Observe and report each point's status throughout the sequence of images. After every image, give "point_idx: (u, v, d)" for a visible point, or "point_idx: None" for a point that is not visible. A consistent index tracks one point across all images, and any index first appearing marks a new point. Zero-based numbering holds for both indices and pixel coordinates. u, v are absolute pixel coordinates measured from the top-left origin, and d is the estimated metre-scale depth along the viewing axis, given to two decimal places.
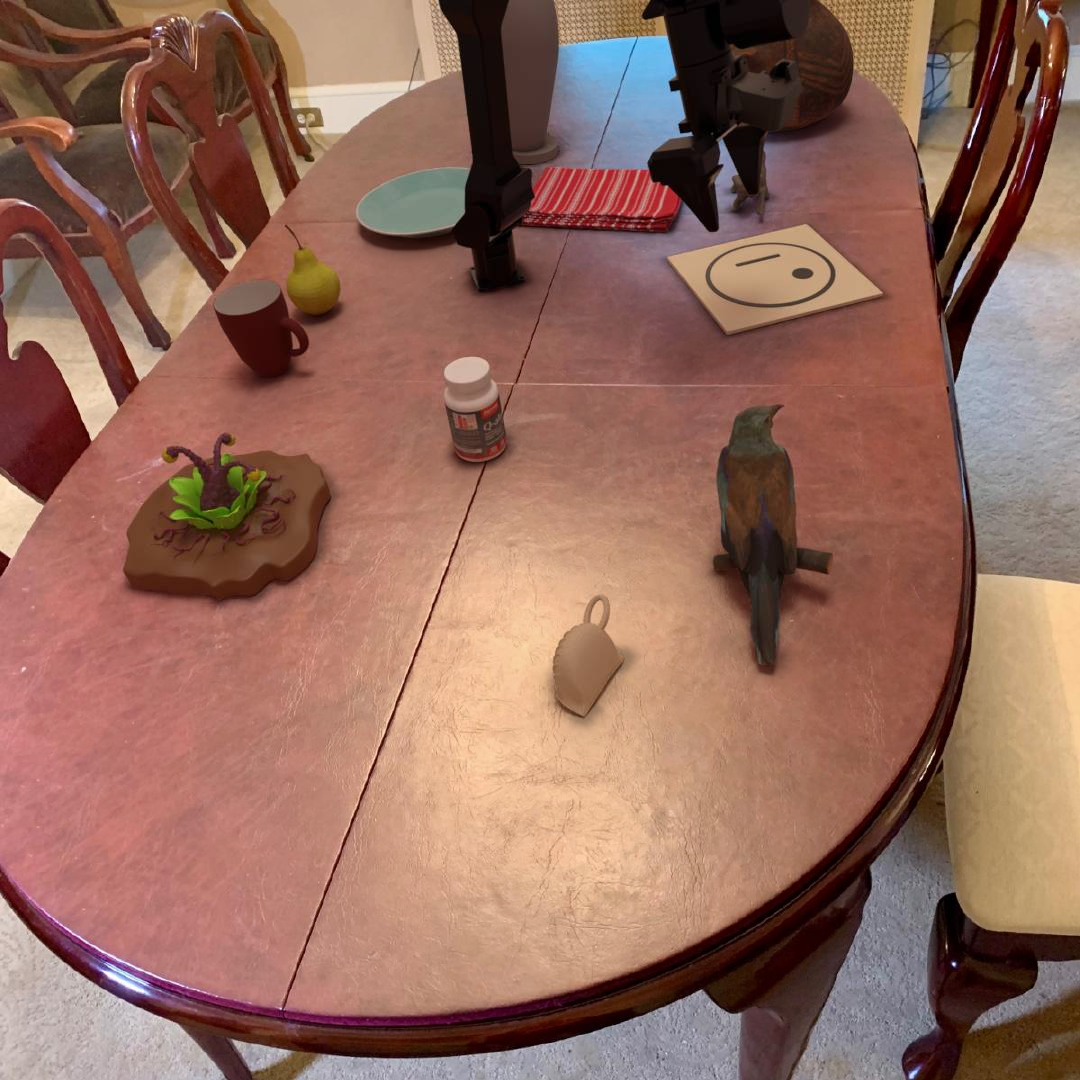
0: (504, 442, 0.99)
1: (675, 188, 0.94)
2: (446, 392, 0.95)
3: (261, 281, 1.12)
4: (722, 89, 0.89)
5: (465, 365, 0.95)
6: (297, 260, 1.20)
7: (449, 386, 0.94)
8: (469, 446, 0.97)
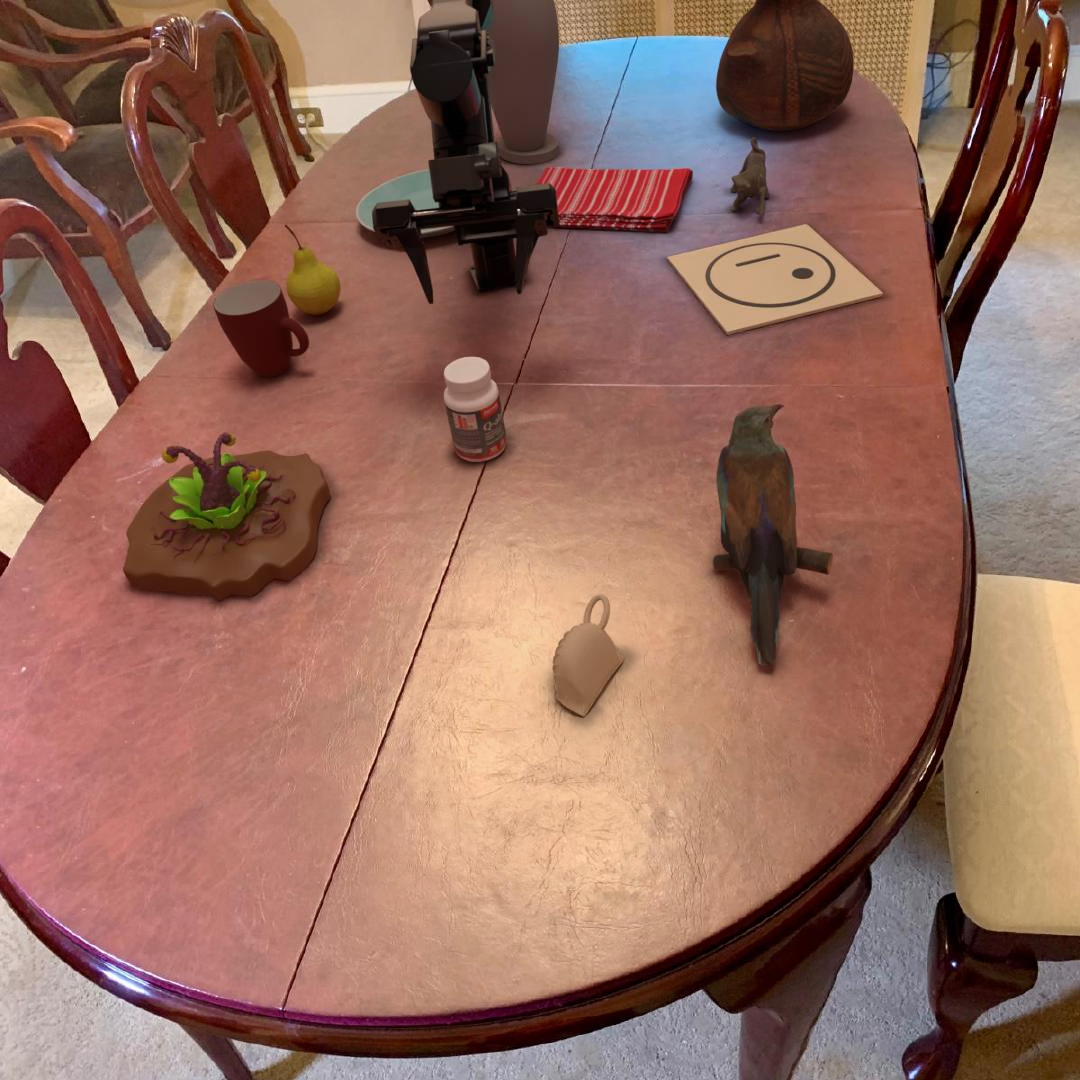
0: (504, 442, 0.99)
1: None
2: (446, 392, 0.95)
3: (261, 281, 1.12)
4: None
5: (465, 365, 0.95)
6: (297, 260, 1.20)
7: (449, 386, 0.94)
8: (469, 446, 0.97)
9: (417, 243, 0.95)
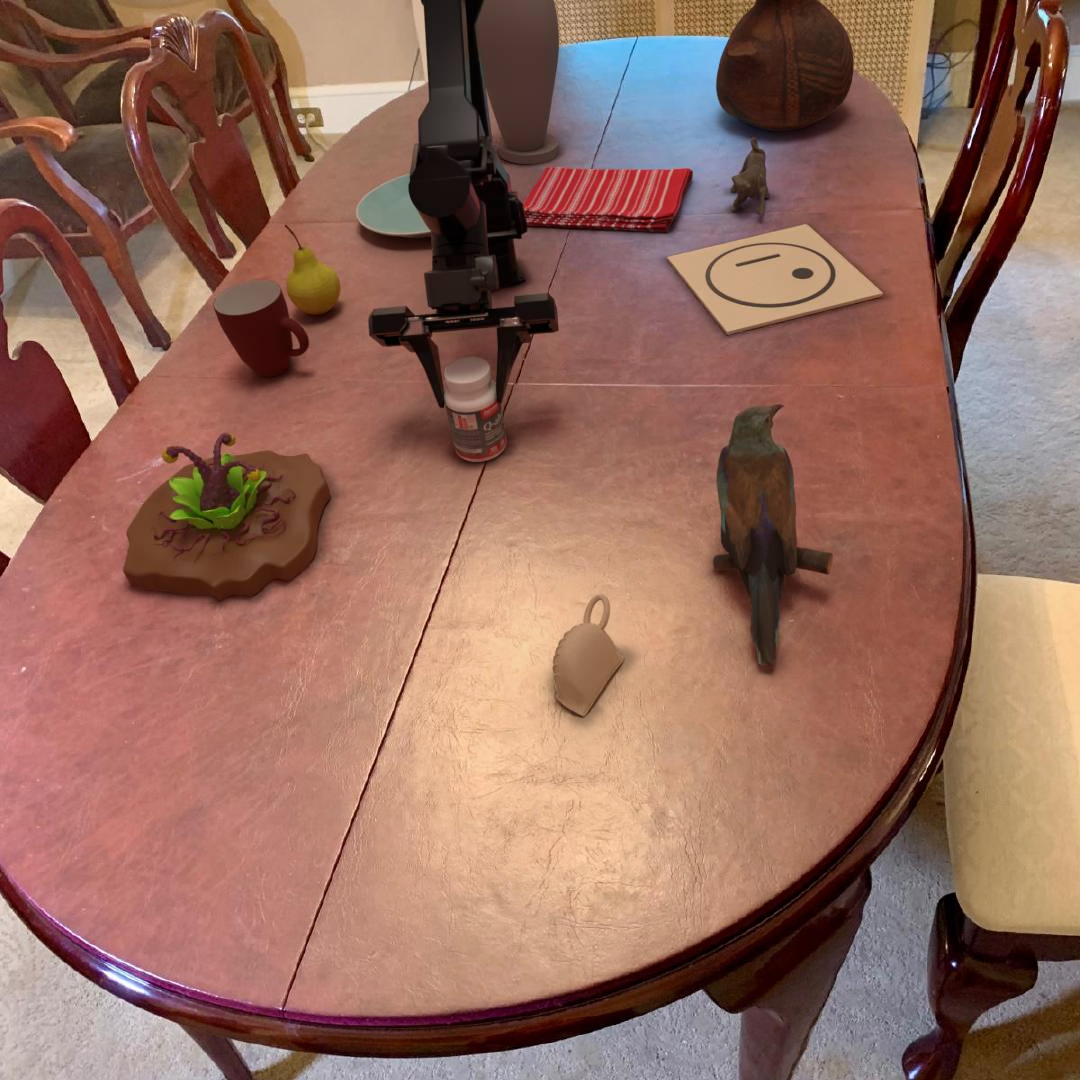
0: (504, 442, 0.99)
1: None
2: (446, 392, 0.95)
3: (261, 281, 1.12)
4: None
5: (465, 365, 0.94)
6: (297, 260, 1.20)
7: (449, 386, 0.94)
8: (469, 446, 0.97)
9: (429, 348, 0.94)
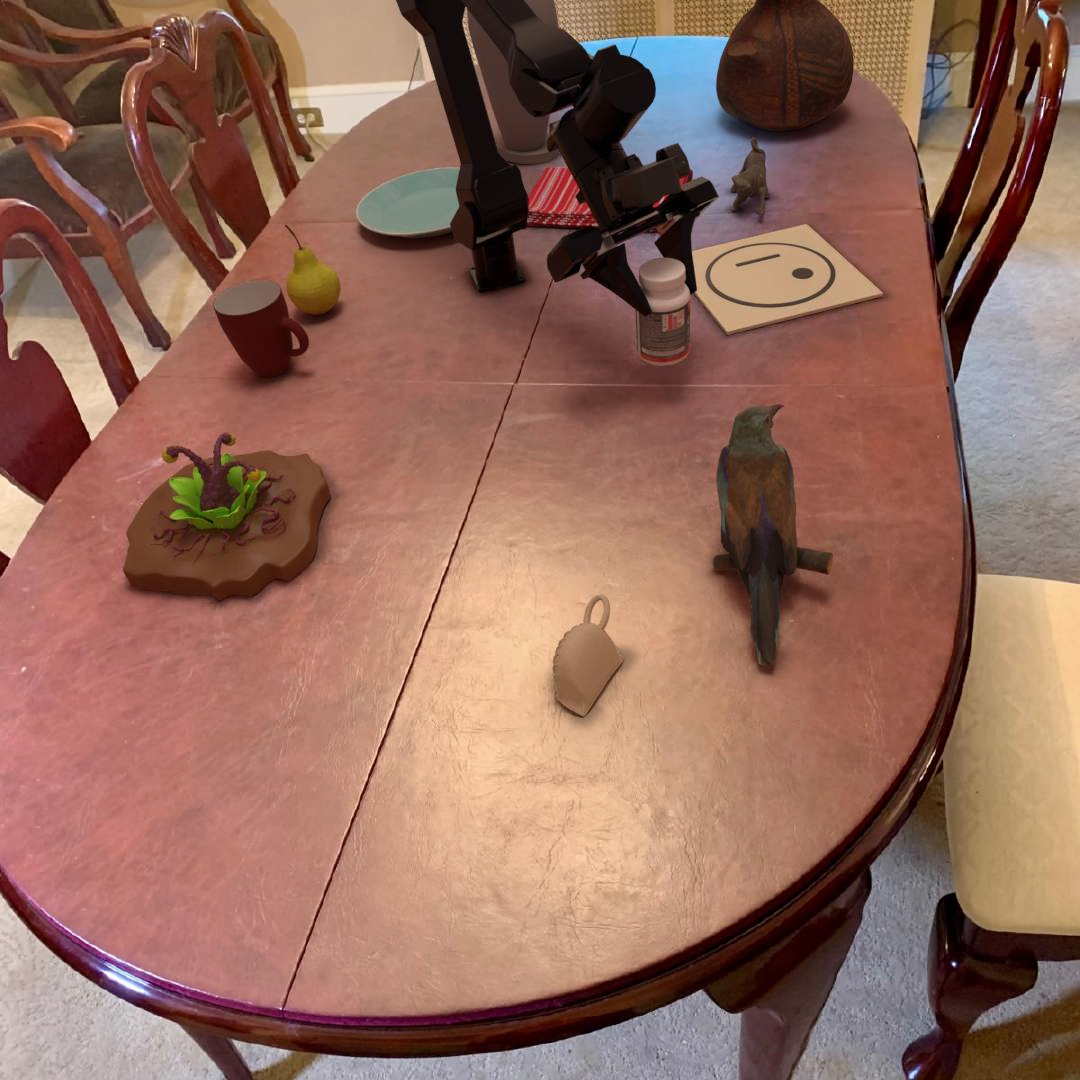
0: None
1: (600, 280, 0.96)
2: None
3: (261, 281, 1.12)
4: (603, 184, 0.92)
5: (656, 267, 0.95)
6: (297, 260, 1.20)
7: (658, 288, 0.94)
8: (674, 347, 0.98)
9: (626, 259, 0.93)
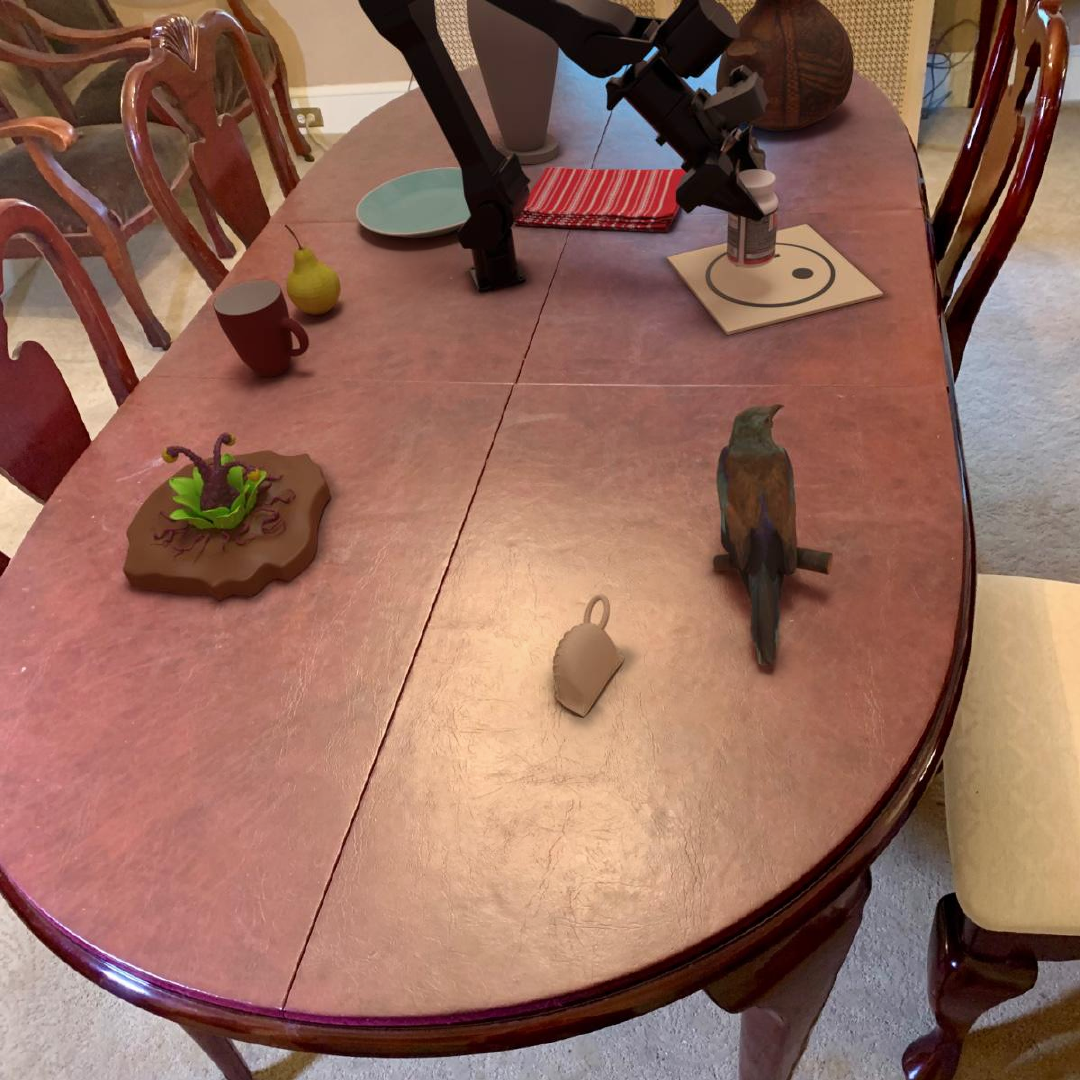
0: None
1: (711, 203, 1.05)
2: None
3: (261, 281, 1.12)
4: (701, 114, 1.01)
5: (748, 178, 1.07)
6: (297, 260, 1.20)
7: (765, 191, 1.06)
8: (773, 244, 1.11)
9: None
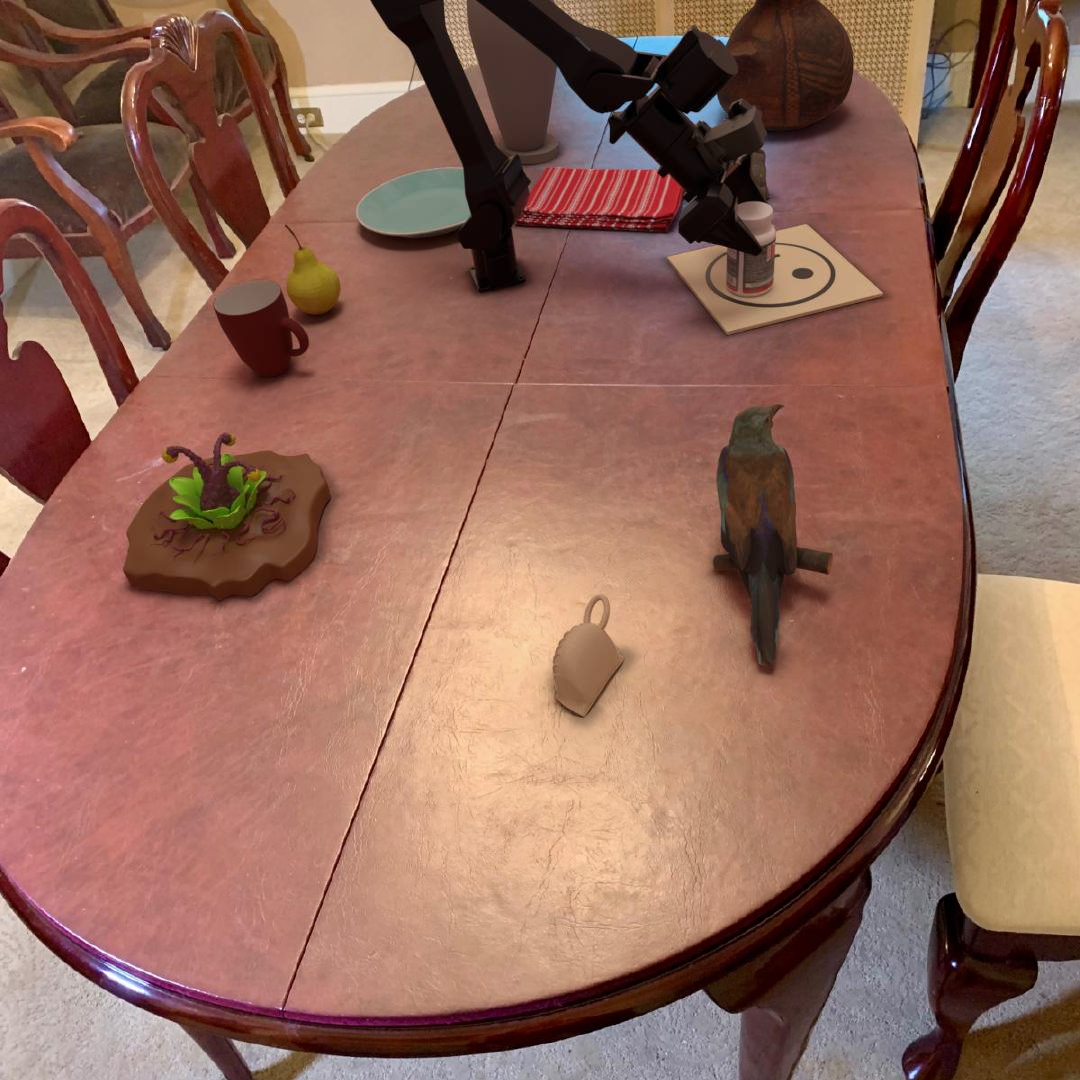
0: None
1: (710, 239, 1.07)
2: None
3: (261, 281, 1.12)
4: (701, 147, 1.04)
5: (746, 210, 1.10)
6: (297, 260, 1.20)
7: (763, 224, 1.09)
8: (772, 273, 1.14)
9: (737, 210, 1.05)
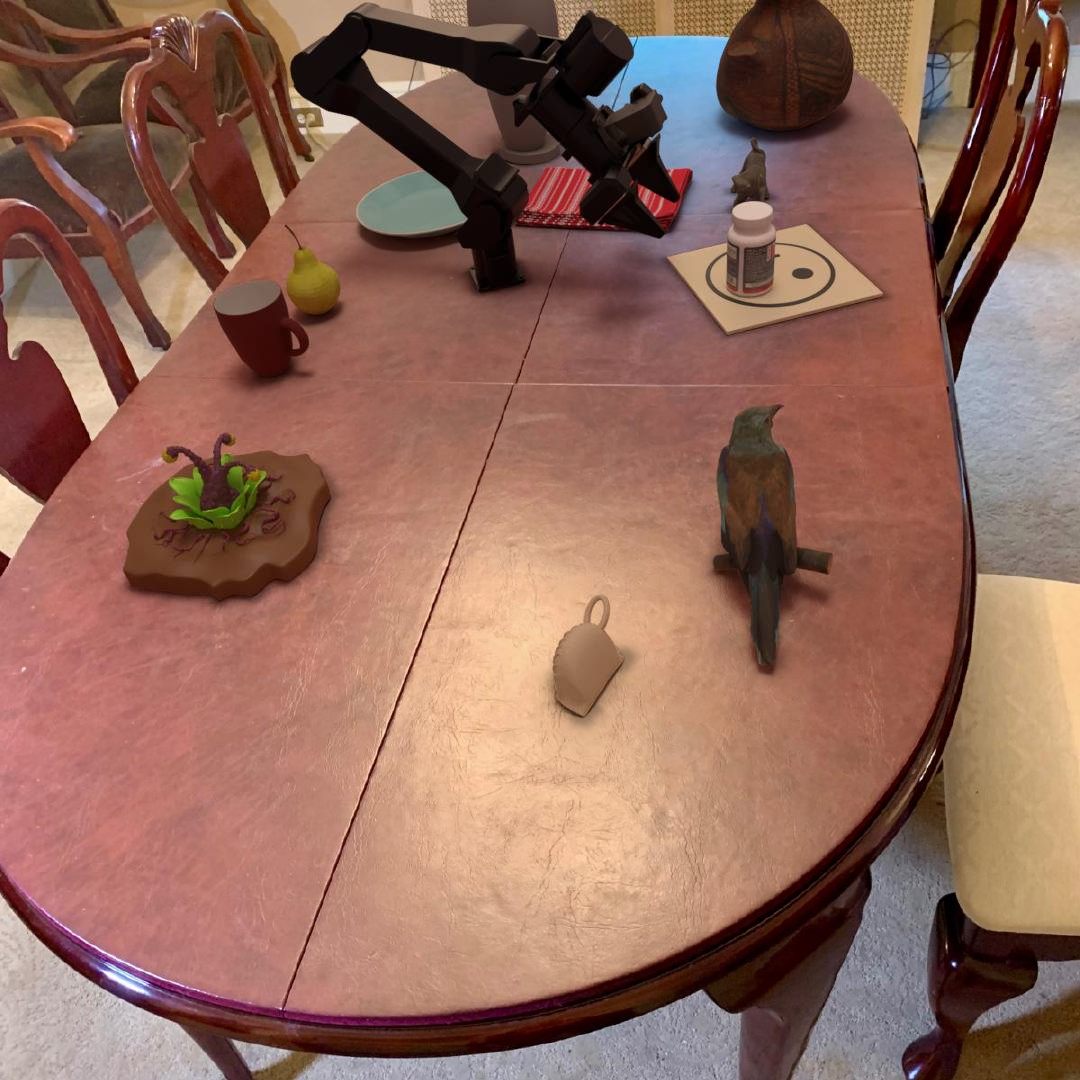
0: None
1: (613, 222, 1.09)
2: (752, 238, 1.10)
3: (261, 281, 1.12)
4: (602, 130, 1.05)
5: (746, 210, 1.10)
6: (297, 260, 1.20)
7: (763, 224, 1.09)
8: (772, 273, 1.14)
9: None
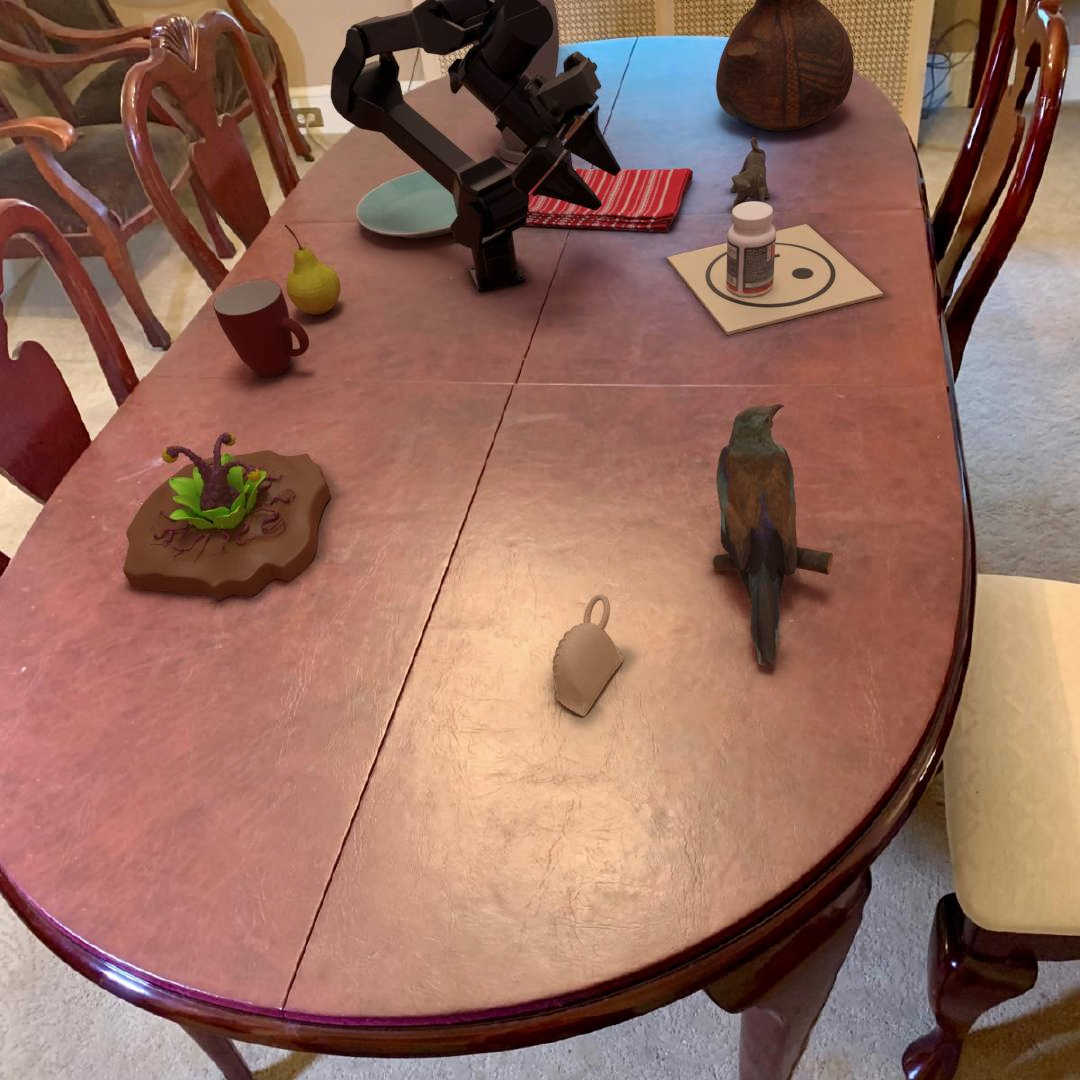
0: None
1: (547, 193, 1.07)
2: (752, 238, 1.10)
3: (261, 281, 1.12)
4: (534, 99, 1.04)
5: (746, 210, 1.10)
6: (297, 260, 1.20)
7: (763, 224, 1.09)
8: (772, 273, 1.14)
9: None
